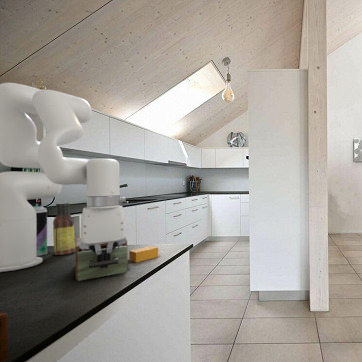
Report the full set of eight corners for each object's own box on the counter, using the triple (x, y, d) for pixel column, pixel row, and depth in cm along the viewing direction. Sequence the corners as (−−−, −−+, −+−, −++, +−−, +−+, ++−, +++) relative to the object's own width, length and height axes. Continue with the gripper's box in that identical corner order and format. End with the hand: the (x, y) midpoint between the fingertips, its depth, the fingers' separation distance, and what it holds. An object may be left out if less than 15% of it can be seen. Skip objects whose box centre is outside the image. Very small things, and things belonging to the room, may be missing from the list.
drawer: (128, 276, 74) (128, 249, 74) (77, 286, 67) (76, 257, 67) (122, 261, 88) (122, 238, 88) (79, 268, 81) (79, 243, 81)
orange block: (135, 262, 90) (135, 252, 89) (129, 260, 92) (129, 250, 92) (158, 256, 96) (158, 247, 96) (151, 254, 99) (151, 245, 99)
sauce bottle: (79, 251, 103) (79, 202, 103) (64, 256, 97) (63, 203, 97) (64, 251, 104) (64, 202, 104) (48, 255, 98) (48, 203, 98)
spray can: (32, 257, 95) (32, 203, 95) (23, 255, 97) (23, 203, 97) (50, 253, 101) (50, 202, 101) (42, 252, 102) (42, 202, 102)
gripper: (132, 200, 80) (132, 258, 80) (69, 202, 71) (69, 269, 71) (136, 201, 74) (136, 264, 74) (67, 204, 65) (68, 277, 65)
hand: (103, 266), depth 73 cm, fingers closed
